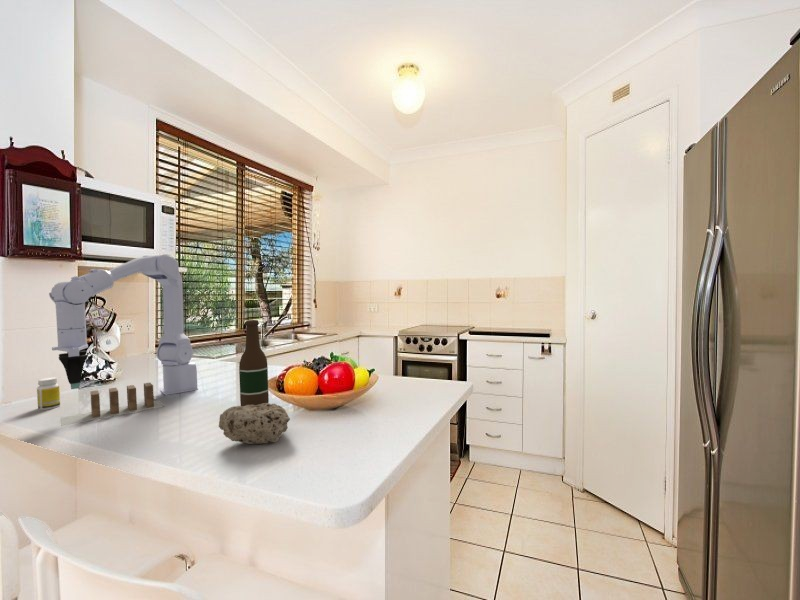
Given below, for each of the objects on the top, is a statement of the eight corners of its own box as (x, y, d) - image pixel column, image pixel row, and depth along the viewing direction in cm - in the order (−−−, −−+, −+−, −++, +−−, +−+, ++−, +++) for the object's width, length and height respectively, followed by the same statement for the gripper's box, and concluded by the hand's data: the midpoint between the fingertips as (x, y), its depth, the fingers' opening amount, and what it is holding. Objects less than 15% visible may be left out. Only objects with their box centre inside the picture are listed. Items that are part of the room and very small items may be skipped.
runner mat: (158, 400, 117) (158, 400, 117) (164, 406, 110) (164, 406, 110) (60, 418, 102) (60, 417, 102) (61, 426, 96) (60, 425, 96)
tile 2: (134, 405, 111) (133, 384, 111) (137, 409, 108) (136, 388, 108) (127, 407, 110) (126, 386, 110) (129, 411, 107) (128, 389, 106)
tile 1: (151, 402, 114) (150, 382, 114) (154, 406, 110) (153, 385, 110) (144, 404, 113) (143, 383, 113) (147, 407, 109) (146, 386, 109)
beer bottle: (246, 413, 103) (242, 322, 102) (235, 407, 109) (232, 320, 108) (274, 407, 108) (271, 320, 107) (263, 401, 114) (260, 318, 113)
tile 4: (99, 412, 106) (97, 390, 106) (100, 416, 103) (99, 393, 102) (91, 413, 105) (90, 391, 105) (92, 418, 101) (91, 394, 101)
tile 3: (117, 409, 109) (116, 387, 109) (119, 413, 105) (118, 390, 105) (110, 410, 108) (108, 388, 108) (111, 414, 104) (110, 391, 104)
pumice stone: (218, 458, 76) (216, 417, 76) (220, 436, 87) (219, 401, 87) (292, 445, 81) (290, 407, 81) (285, 427, 92) (284, 393, 92)
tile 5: (78, 384, 103) (77, 362, 103) (79, 388, 100) (78, 364, 99) (70, 385, 102) (69, 363, 102) (71, 389, 99) (69, 365, 98)
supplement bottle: (64, 405, 114) (63, 376, 114) (48, 410, 109) (47, 380, 109) (49, 405, 115) (48, 376, 114) (33, 410, 110) (31, 380, 110)
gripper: (51, 328, 103) (54, 379, 104) (50, 332, 92) (53, 389, 93) (85, 325, 108) (88, 374, 108) (88, 329, 97) (91, 384, 97)
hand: (74, 381), depth 101 cm, fingers closed on tile 5, 5 cm apart
